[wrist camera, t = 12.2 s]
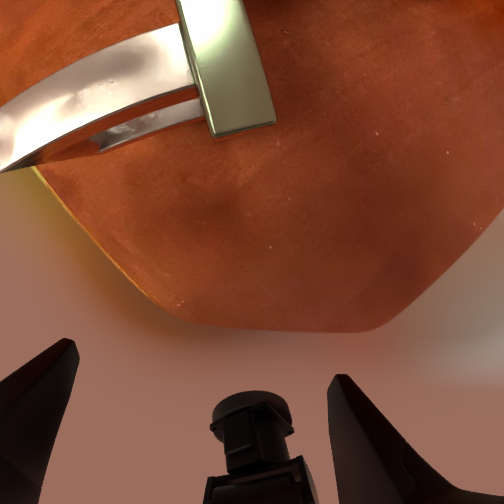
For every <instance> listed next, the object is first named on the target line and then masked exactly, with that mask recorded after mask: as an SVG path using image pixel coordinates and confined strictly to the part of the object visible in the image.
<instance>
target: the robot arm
mask: <svg viewBox="0 0 504 504" xmlns="http://www.w3.org/2000/svg"><path fill="white" fill-rule="evenodd" d="M79 360H80V358H79V353H78V350H77V347H76V344H75V342H74V341H73V340H71V339H67V338H63V339H61V340H59V341H58V342H56V343H55V344H54V345H52V346H51V347H49V348H48V349H46V350H45V351H43V352H42V353H40V354H39V355H37V356H36V357H35V358H33V359H32V360H30V361H29V362H27V363H26V364H25V365H23V366H22V367H20V368H19V369H17V370H16V371H15V372H13V373H12V374H10V375H9V376H8V377H6V378H5V379H3V380H2V381H1V382H0V504H38V502H39V497H40V493H41V487H42V484H43V480H44V477H45V473H46V469H47V465H48V462H49V459H50V455H51V452H52V448H53V445H54V442H55V439H56V436H57V433H58V430H59V427H60V424H61V421H62V418H63V415H64V412H65V409H66V407H67V404H68V401H69V398H70V395H71V391H72V387H73V383H74V379H75V375H76V372H77V368H78V365H79ZM327 400H328V423H329V435H330V442H331V449H332V455H333V462H334V468H335V475H336V482H337V490H338V497H339V504H504V496H496V495H489V494H483V493H477V492H471V491H466V490H462V489H459V488H457V487H455V486H454V485H452V484H451V483H449V482H448V481H447V480H446V479H445V478H444V477H442V476H441V475H440V474H439V473H438V472H437V471H436V470H435V469H433V468H432V467H431V466H430V465H429V464H428V463H427V462H426V461H425V460H424V459H423V458H422V457H421V456H420V455H418V454H417V452H416V451H415V450H414V449H413V448H412V447H411V446H410V445H409V443H408V442H406V440H405V439H404V438H403V437H402V436H401V435H400V433H399V432H398V431H397V430H396V429H395V428H394V427H393V426H392V424H391V423H390V422H389V421H388V420H387V419H386V418H385V416H384V415H383V414H382V413H381V412H380V411H379V410H378V409H377V408H376V406H375V405H374V404H373V403H372V402H371V401H370V400H369V398H368V397H367V396H366V395H365V394H364V393H363V392H362V390H361V389H360V388H359V387H358V386H357V385H356V384H355V383H354V381H353V380H352V379H351V378H350V377H349V376H348V375H347V374H336V375H335V376H334V378H333V380H332V382H331V384H330V386H329V388H328V391H327ZM264 406H265V407H264ZM210 430H211V431H212V432H213V433H215V434H216V435H217V436H219V437H220V438H221V439H223V441H224V453H225V455H226V466H227V472H228V473H229V474H228V475H223V476H217V477H214V476H212V477H208V479H207V484H206V488H205V494H204V500H203V504H319V500H318V496H317V491H316V488H315V485H314V481H313V479H312V475H311V473H310V471H309V468H308V466H307V464H306V462H305V460H304V458H303V456H302V455H300V456H298V457H296V458H294V459H290V456H289V453H288V449H287V445H286V441H285V437H287V436H289V435H291V434H293V433H294V429H293V427H292V426H291V425H290V424H289V423H288V422H287V421H286V420H285V419H284V418H283V417H282V416H281V415H280V414H279V413H278V412H277V411H276V410H275V409H274V408H273V407H272V406H271V405H270V404H269V403H268V402H261V403H259V404H256V405H254V406H252V407H250V408H248V409H245V410H243V411H241V412H238V413H236V414H234V415H231V416H229V417H227V418H224V419H222V420H219V421H217V422H214V423H212V424H210Z"/></svg>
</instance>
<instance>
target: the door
mask: <svg viewBox="0 0 504 504" xmlns="http://www.w3.org/2000/svg"><path fill="white" fill-rule="evenodd" d="M175 3H176V7H177V11H178V15H179V19H180V23H181V24H180V23H179V22H177V23H173V24H170V25H167V26H163V27H160V28H157V29H154V30H151V31H148V32H145V33H142V34H139V35H136V36H134V37H131V38H128V39H126V40H123V41H121V42H118V43H116V44H113V45H111V46H108V47H106V48H104V49H101V50H99V51H97V52H95V53H93V54H90V55H88V56H86V57H84V58H82V59H80V60H78V61H76V62H74V63H72V64H70V65H68V66H66V67H64V68H62V69H60V70H59V71H57V72H55V73H53V74H51V75H50V76H48V77H46V78H45V79H43V80H41V81H39V82H38V83H36V84H35V85H33V86H31V87H30V88H28V89H27V90H25V91H23V92H22V93H20V94H19V95H17V96H16V97H14V98H13V99H11V100H10V101H9V102H7V103H6V104H4V105H3V106H2V107H0V173H4V172H8V171H12V170H16V169H21V168H25V167H30V166H35V165H40V164H45V163H51V162H56V161H62V160H68V159H74V158H80V157H87V156H94V155H101V154H105V153H108V152H110V151H113V150H115V149H118V148H120V147H123V146H126V145H128V144H131V143H134V142H136V141H139V140H142V139H145V138H148V137H151V136H153V135H156V134H159V133H162V132H165V131H168V130H172V129H175V128H178V127H181V126H184V125H188V124H191V123H195V122H198V121H202V120H205V119H206V121H207V125H208V129H209V133H210V136H211V138H212V141H213V143H214V144H216V143H220V142H224V141H227V140H230V139H233V138H236V137H239V136H242V135H244V134H247V133H250V132H253V131H256V130H259V129H262V128H265V127H268V126H271V125H274V124H275V123H276V122H277V116H276V112H275V108H274V104H273V100H272V96H271V93H270V89H269V85H268V82H267V78H266V74H265V71H264V67H263V64H262V60H261V57H260V53H259V50H258V46H257V43H256V40H255V36H254V33H253V30H252V26H251V23H250V20H249V17H248V14H247V11H246V7H245V4H244V1H243V0H175Z"/></svg>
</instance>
